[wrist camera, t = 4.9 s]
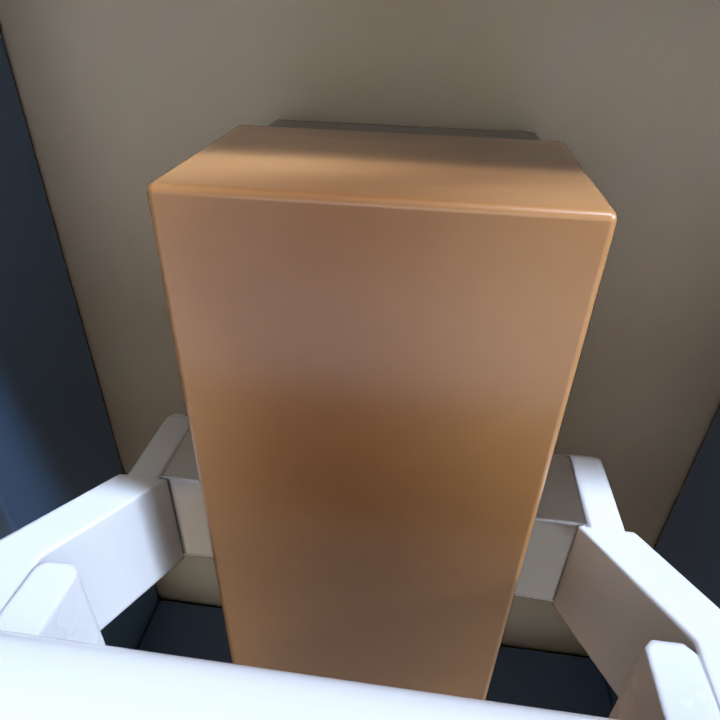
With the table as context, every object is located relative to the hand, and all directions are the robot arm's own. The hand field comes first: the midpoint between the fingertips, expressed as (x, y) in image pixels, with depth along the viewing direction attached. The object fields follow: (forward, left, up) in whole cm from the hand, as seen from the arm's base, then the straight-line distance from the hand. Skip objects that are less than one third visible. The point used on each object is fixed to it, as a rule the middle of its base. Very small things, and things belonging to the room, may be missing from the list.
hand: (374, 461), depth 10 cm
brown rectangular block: (0, 0, -2) cm, 2 cm away
